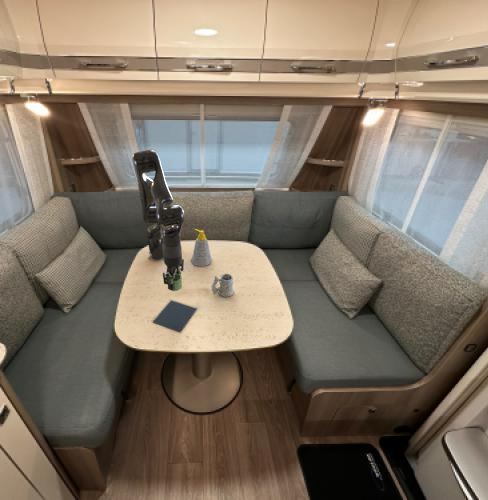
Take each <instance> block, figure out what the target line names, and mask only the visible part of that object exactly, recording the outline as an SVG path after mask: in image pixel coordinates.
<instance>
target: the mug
mask: <svg viewBox="0 0 488 500" xmlns="http://www.w3.org/2000/svg"><path fill="white" fill-rule="evenodd" d="M218 282H219V286H218V287H217V288H216V285H218ZM211 291H212V293H213V294H214V295H216V293H219V295H220V296H221V297H224V298H228V297H231V296H232V295H233V293H234V276H233V275H232V274H231V273H223V274H221V275H220V277H218V276H217V274H216V275H214V279H213V281H212V284H211Z"/></svg>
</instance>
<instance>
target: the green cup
mask: <svg viewBox="0 0 488 500" xmlns="http://www.w3.org/2000/svg"><path fill="white" fill-rule="evenodd" d="M169 275H170V274H169ZM170 276H173V275H170ZM182 277H183V276H182V274H181V275H180V274H178V273H176V274H175V278H174V279H173V290H170V291H171V292H177V291H180V290H181V289H182V287H183V278H182ZM170 281H171V278H170Z"/></svg>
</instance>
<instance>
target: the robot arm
mask: <svg viewBox="0 0 488 500" xmlns="http://www.w3.org/2000/svg"><path fill="white" fill-rule="evenodd" d="M131 159H132V165H133V168H134V173H135V177H136V180H137V188H138V189H137V190H138V195H139V199H140V203H141V213H142V219H143V222H144V223H145V224H151V225H150V226H149V227H147V228H146V235H147V241H148V242H147V244H148V255H149V259H150V260H151V261H154V262H160V261H162V260H163V262H164V265H165V266H166V271H165V272H162V279H163V285H167V290H169V291H171V290H173V279H174V278H175V274H176V273H178V274H180V275H181V276H182V272H184V265H185V264H184V263H185V262H184V260H185V259H184V258H183V250H182V249H183V248H182V239H181V233H182V228H183V225H184V222H185V211H184V209H183V208H182V207H181V206H180V205H173V202H174V199H173V196H172V194H171V192H170V190H169V187H168V185H167V182H166V178H165V174H164V171H163V167H162V164H161V160H160V157H159V155H158V152H157V151H156V150H155V149H145V150H140V151H136V152H134V153H133V154H132V158H131ZM152 172H153V173H154V177H153V180H152V179H151V178H150V177H148V176H146V174H149V173H152ZM154 204H155V206H153V205H154ZM168 226H169V227H168ZM163 227H167V228H165V229H163ZM170 275H173V276H170ZM170 278H171V281H170Z"/></svg>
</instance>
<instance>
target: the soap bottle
mask: <svg viewBox="0 0 488 500" xmlns="http://www.w3.org/2000/svg"><path fill="white" fill-rule="evenodd" d="M194 231H195V232H198V233H199V234H197V237H196V238H195V242H194V247H193V252H192V257H191V263H192V264H193V265H195V266H196V267H197V266H198V267H206V266H208V265H210V264H211V263H212V255H211V250H210V245H209V241H208V238H207V237H206V234H205V231H204V230H201V229H197V228H194Z"/></svg>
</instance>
